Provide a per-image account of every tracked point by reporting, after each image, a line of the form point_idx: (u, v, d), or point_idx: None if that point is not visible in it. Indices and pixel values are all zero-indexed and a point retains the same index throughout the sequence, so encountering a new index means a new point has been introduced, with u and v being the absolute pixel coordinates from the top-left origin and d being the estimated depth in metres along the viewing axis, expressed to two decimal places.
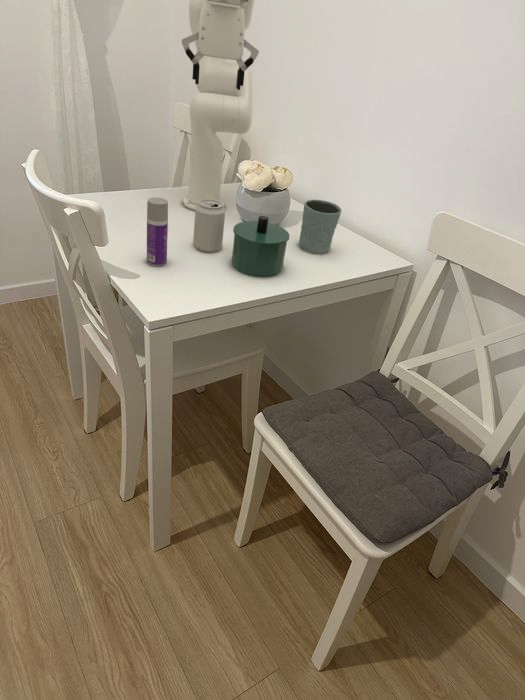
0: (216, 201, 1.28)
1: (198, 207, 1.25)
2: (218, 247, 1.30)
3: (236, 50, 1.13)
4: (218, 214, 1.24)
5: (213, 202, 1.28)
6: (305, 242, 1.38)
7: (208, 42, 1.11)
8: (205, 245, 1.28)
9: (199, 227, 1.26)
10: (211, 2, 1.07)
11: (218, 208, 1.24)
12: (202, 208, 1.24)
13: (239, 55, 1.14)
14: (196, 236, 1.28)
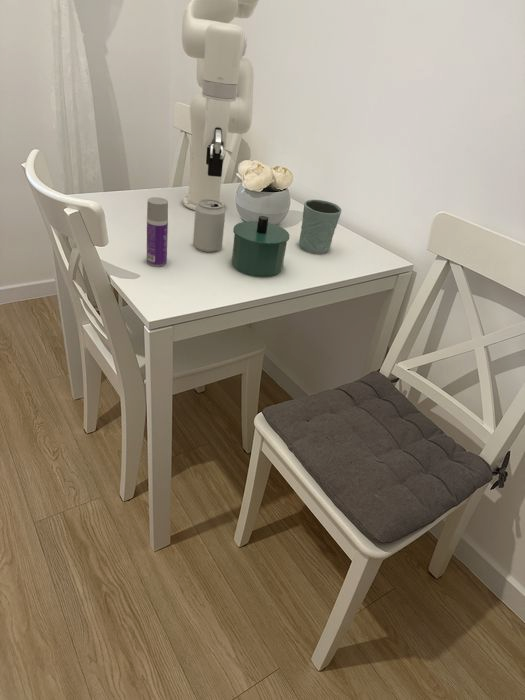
0: (216, 201, 1.28)
1: (198, 207, 1.25)
2: (218, 247, 1.30)
3: None
4: (218, 214, 1.24)
5: (213, 202, 1.28)
6: (305, 242, 1.38)
7: None
8: (205, 245, 1.28)
9: (199, 227, 1.26)
10: (231, 100, 1.11)
11: (218, 208, 1.24)
12: (202, 208, 1.24)
13: None
14: (196, 236, 1.28)
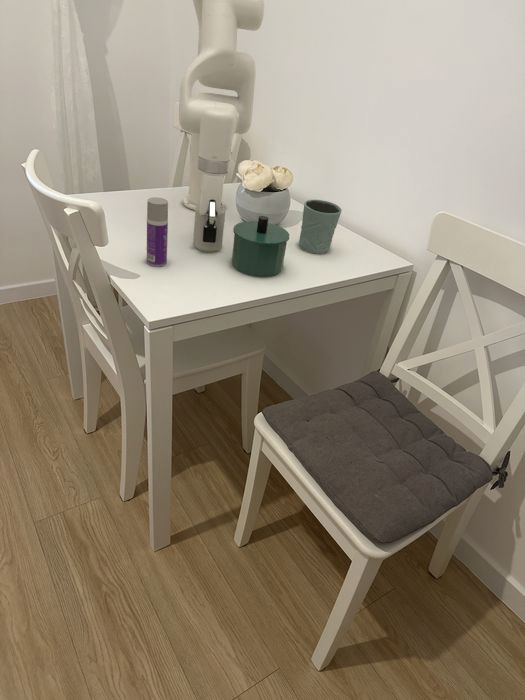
0: None
1: (198, 207, 1.25)
2: (218, 247, 1.30)
3: None
4: None
5: None
6: (305, 242, 1.38)
7: None
8: (205, 245, 1.28)
9: (199, 227, 1.26)
10: (224, 174, 1.20)
11: None
12: None
13: None
14: (196, 236, 1.28)
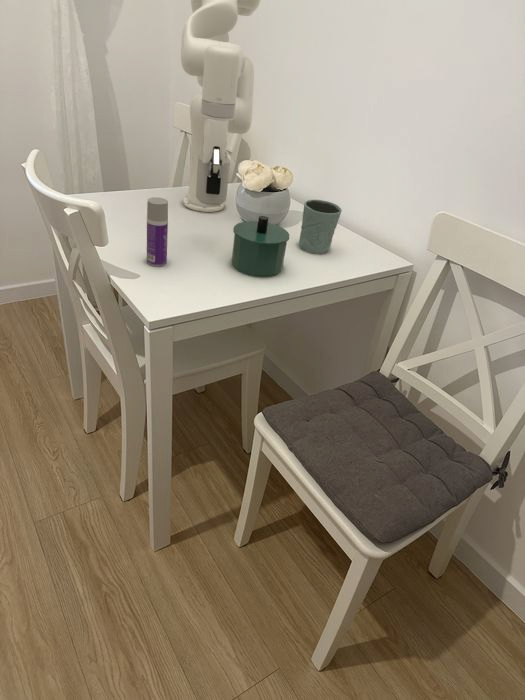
0: None
1: (201, 156, 1.18)
2: (222, 200, 1.23)
3: None
4: None
5: None
6: (305, 242, 1.38)
7: None
8: (208, 197, 1.21)
9: (202, 178, 1.19)
10: (229, 119, 1.13)
11: None
12: None
13: None
14: (199, 188, 1.21)
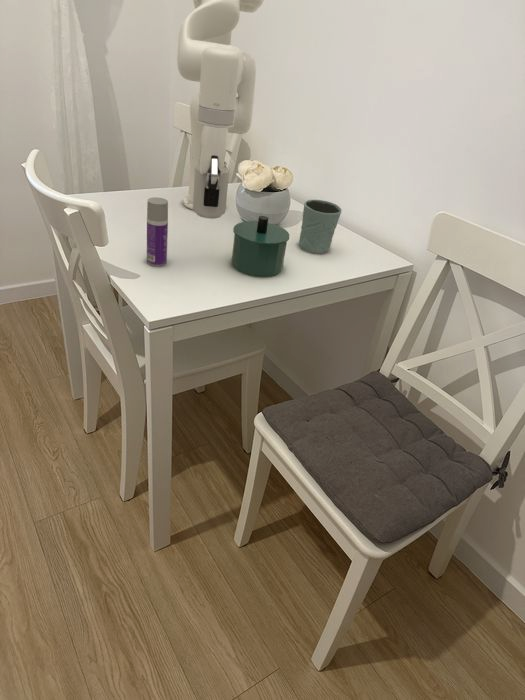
0: None
1: (198, 166, 1.10)
2: (221, 213, 1.15)
3: None
4: None
5: None
6: (305, 242, 1.38)
7: None
8: (206, 210, 1.13)
9: (200, 190, 1.11)
10: (228, 126, 1.05)
11: None
12: None
13: None
14: (196, 200, 1.13)
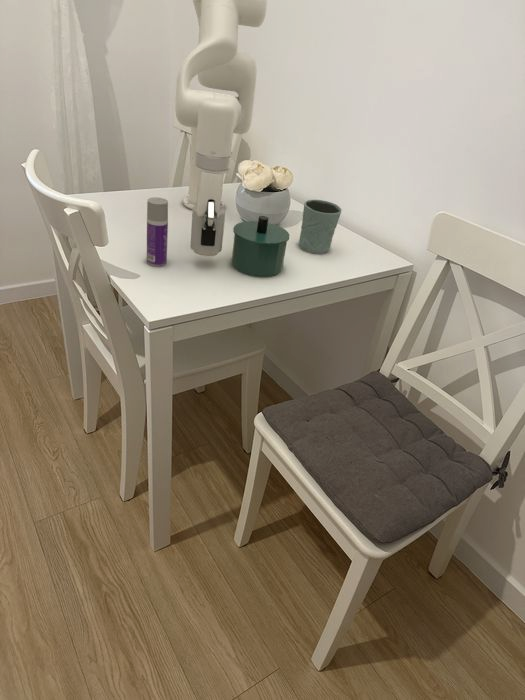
0: None
1: (196, 207, 1.15)
2: (217, 251, 1.20)
3: None
4: None
5: None
6: (305, 242, 1.38)
7: None
8: (203, 248, 1.18)
9: (197, 230, 1.16)
10: (224, 172, 1.09)
11: None
12: None
13: None
14: (193, 239, 1.18)
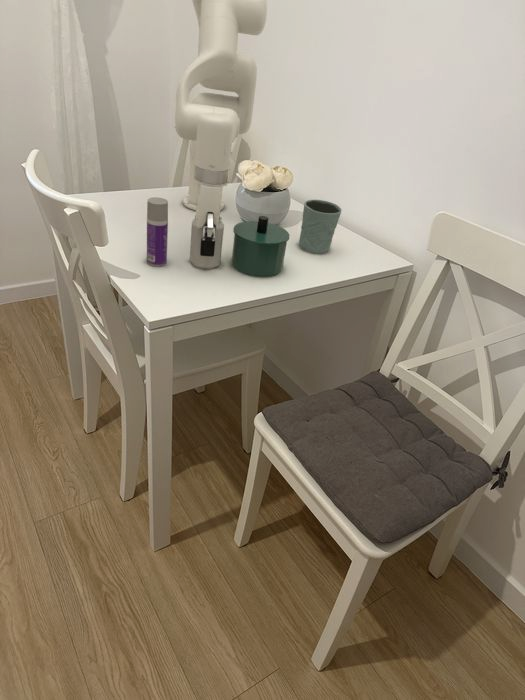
0: None
1: (195, 222, 1.17)
2: (216, 264, 1.22)
3: None
4: (216, 229, 1.16)
5: None
6: (305, 242, 1.38)
7: None
8: (202, 261, 1.20)
9: (196, 243, 1.18)
10: (223, 185, 1.11)
11: None
12: None
13: None
14: (192, 252, 1.20)
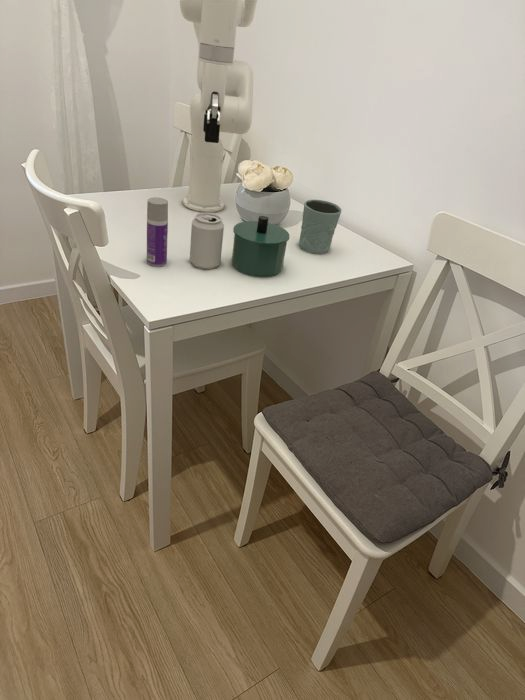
0: (214, 215, 1.20)
1: (195, 222, 1.17)
2: (216, 264, 1.22)
3: None
4: (216, 229, 1.16)
5: (211, 216, 1.19)
6: (305, 242, 1.38)
7: None
8: (202, 261, 1.20)
9: (196, 243, 1.18)
10: (228, 64, 1.10)
11: (216, 223, 1.16)
12: (199, 223, 1.16)
13: None
14: (192, 252, 1.20)
